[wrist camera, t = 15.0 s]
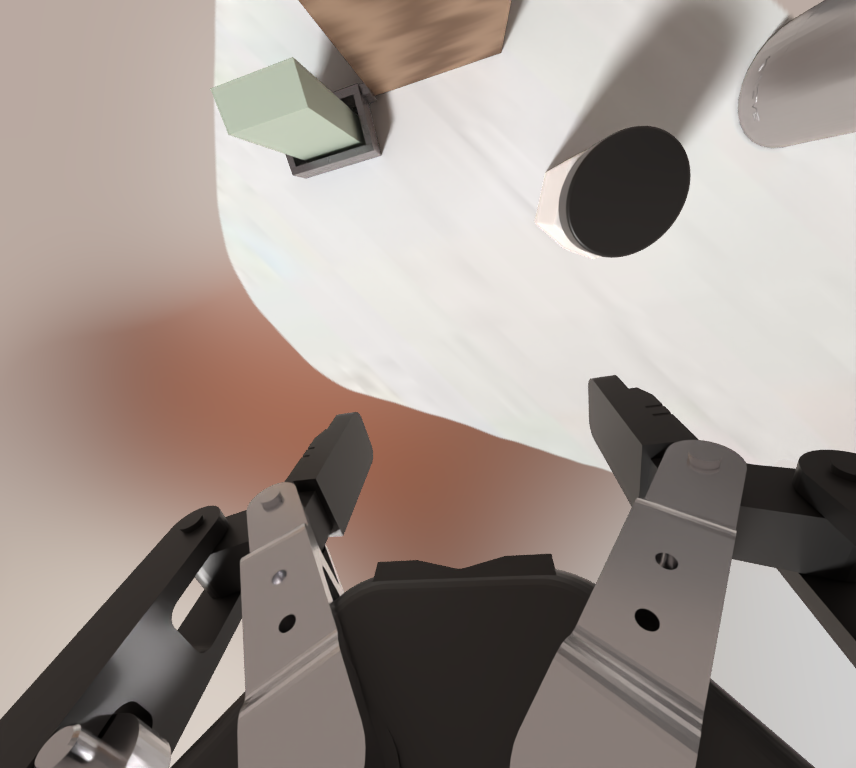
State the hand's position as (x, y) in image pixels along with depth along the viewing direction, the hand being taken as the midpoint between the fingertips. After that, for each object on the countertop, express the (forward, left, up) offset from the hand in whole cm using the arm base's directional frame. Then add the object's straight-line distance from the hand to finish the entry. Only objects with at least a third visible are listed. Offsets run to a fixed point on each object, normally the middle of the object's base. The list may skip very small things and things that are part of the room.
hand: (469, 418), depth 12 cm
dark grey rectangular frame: (+11, -16, -30) cm, 36 cm away
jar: (-12, -5, -30) cm, 33 cm away
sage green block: (+11, -16, -30) cm, 36 cm away
